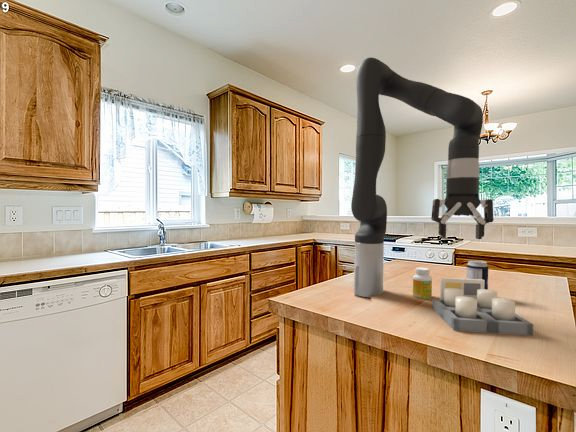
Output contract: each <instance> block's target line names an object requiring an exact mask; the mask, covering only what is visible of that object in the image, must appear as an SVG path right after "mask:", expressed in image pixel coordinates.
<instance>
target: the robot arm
mask: <svg viewBox="0 0 576 432" xmlns="http://www.w3.org/2000/svg"><path fill="white" fill-rule="evenodd" d="M355 76H356V77H355V83H356V84H355V85H356V102H357V103H356V104H357V113H356V118H357V120H356V137H355V139H356V140H355V167H354V168H355V169H354V171H355V172H354V181H353V182H354V184H353V190H352V198H351V203H350V204H351V205H350V206H351V213H352V215H353V217H354V219H355V220H356V221H358V222H360V223H359V224H360V225H359V228H358V230H357V231H356V232H355V235H354V263H353V292H354V293H353V294H354V296H358V297H362V298H371V296H380V295H382V294H384V257H385V256H384V250H385V249H384V248H385V246H384V245H385V244H384V239H385V236H386V232H387V221H388V220H387V219H388V206H387V202H386V200H385V199H384V197H383V196H381V195H380V194H377V177H378V173H379V171H380V168H381V165H382V163H383V161H384V158H385V154H386V141H387V140H386V139H387V135H386V134H387V133H386V132H387V131H386V125H385V123H384V117H383V115H382V112H381V108H380V102H379V101H380V100H379V99H380V97H379V96H384V97H389V98H393V99H395V100H398V101H401V102H403V103H404V104H406V105H407V106H410V107H412V108H413V109H415V110H418V111H420V112H422V113H424V114H427V115H428V116H429V115H430V116H431V117H436V118H439V119H440V120H441V121H442V120H443V122H446V123H448V124H450V125H452V126H453V137H452V138H451V140H450V141H449V142H448V151H447V154H448V155H447V166H446V174H445V178H446V181H445V182H446V183H445V184H446V186H445V188H446V189H445V199H439V198H435V199H433V200H432V205H431V206H432V207H431V208H432V209H431V217H430V218H431V220H432V222H436V223H437V224H438V235H439V236H440V237H441V238H442V239H446V238H447V222H448V220H449V219H451V218H452V217H453V216H468V217H469V216H470V217H471V218H472V219H474V221H475V222H476V224H475V239H477V240H482V239H483V238H484V236H485V226H486V224H490V223H493V222H494V201H493V199H492V198H491V199H489V198H487V199H480V196H479V194H480V193H479V192H480V161H479V160H480V159H479V158H480V157H479V156H480V154H479V153H480V138H481V134H482V133H481V132H482V129H483V128H482V127H483V122H484V114H483V113H484V112H483V110H482V108H481V106H480V105H479V104H477V102H475V100H473V99H471V98H469V97H466V96H463V95H461V94H456V93H452V92H448V91H445V90H443V89H442V88H440V87H437V86H434V85H431V84H429V83H425V82H421V81H416V80H411V79H408V78H405V77H404V76H402V75H400V74H399V73H397V72H395V71H394V70H393V69H391V68H390V66H389V65H387V64H386V63H385V62H383V61H382V60H380V59H378V58H376V57H367V58H365V59H363V61H361V63H360V64H359V66H358V68H357V71H356V75H355ZM443 205H444V206H445V207H446V210H445V212H443V214H442V216H440V217H439V215H440V208H442V206H443ZM480 205H481V207H482V208H483V213H484V214H483V216H482V215H481V213H480V212H479V211H478V209H477V208H478V207H479V206H480ZM483 217H484V218H483Z"/></svg>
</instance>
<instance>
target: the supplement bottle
mask: <svg viewBox="0 0 576 432" xmlns="http://www.w3.org/2000/svg"><path fill="white" fill-rule="evenodd" d="M414 273H415V274H414V275H413V276H412V297H414V298H417V299H421V300H430V299H432V293H433V291H432V290H433V289H432V287H433V286H432V284H433V283H432V282H433V280H432V276H430V269H429V268H426V267H416V268H415V272H414Z"/></svg>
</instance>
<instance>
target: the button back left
mask: <svg viewBox="0 0 576 432" xmlns="http://www.w3.org/2000/svg"><path fill="white" fill-rule="evenodd" d="M457 296H463V290H461V289H457V288H445V289H444V305H446V306H449V307H455V302H456V297H457Z"/></svg>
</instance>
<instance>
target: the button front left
mask: <svg viewBox="0 0 576 432" xmlns="http://www.w3.org/2000/svg"><path fill="white" fill-rule="evenodd" d="M455 315H456V316H458V317H461V318H471V319H476V318H477V299H475V298H471V297H466V296H457V297H456V302H455Z"/></svg>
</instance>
